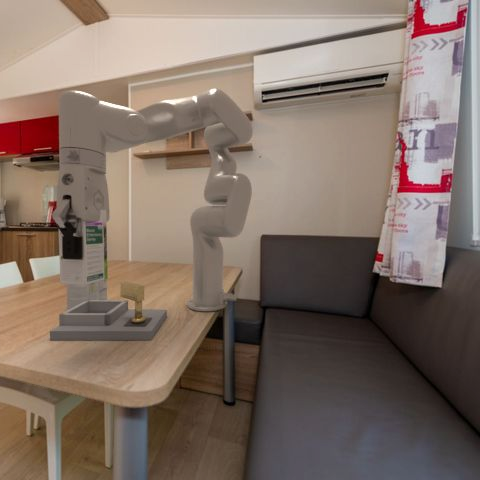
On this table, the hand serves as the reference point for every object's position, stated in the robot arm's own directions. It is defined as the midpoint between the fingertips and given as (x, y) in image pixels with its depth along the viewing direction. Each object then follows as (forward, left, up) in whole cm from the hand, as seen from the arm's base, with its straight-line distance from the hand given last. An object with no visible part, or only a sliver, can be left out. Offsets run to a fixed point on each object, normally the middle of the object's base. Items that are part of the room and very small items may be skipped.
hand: (84, 255), depth 48 cm
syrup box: (0, 0, -5) cm, 5 cm away
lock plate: (-1, -12, -19) cm, 22 cm away
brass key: (-5, -11, -17) cm, 21 cm away
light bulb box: (+14, -27, -19) cm, 36 cm away
